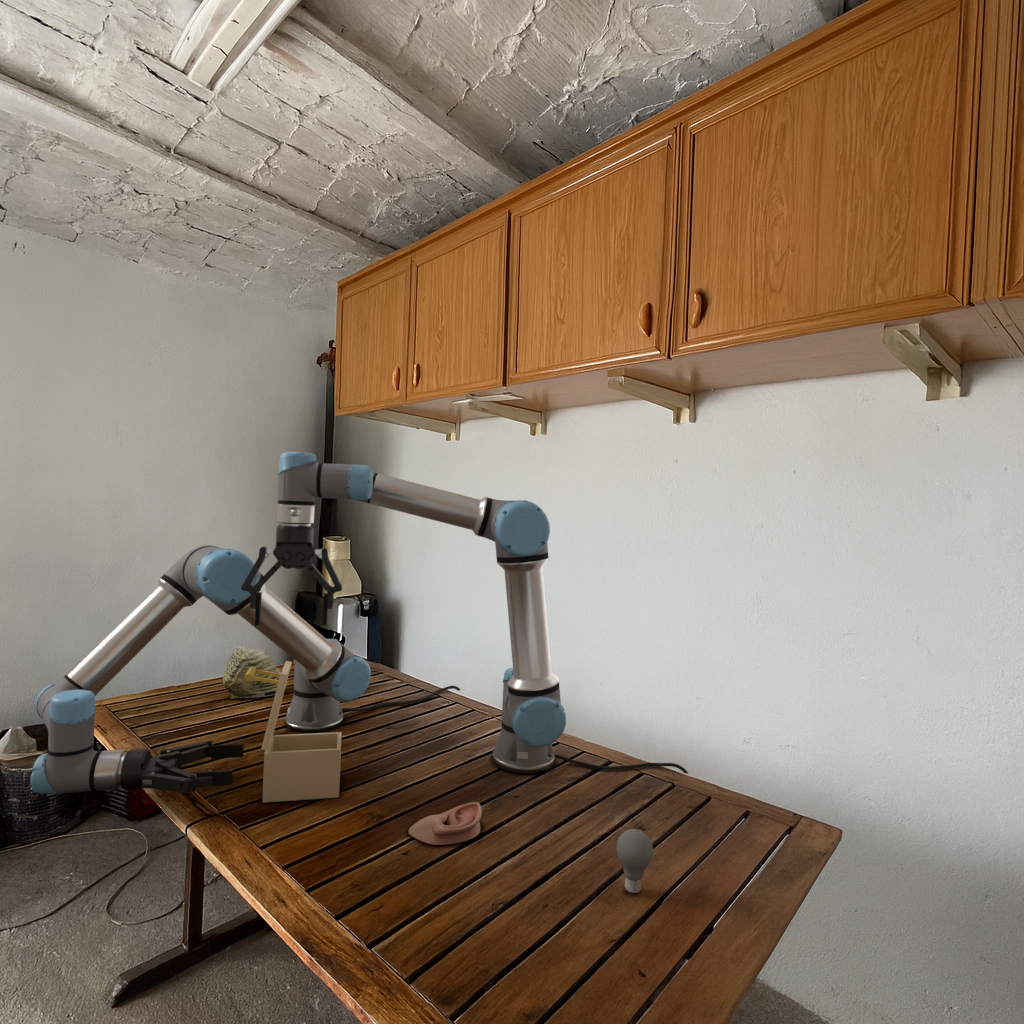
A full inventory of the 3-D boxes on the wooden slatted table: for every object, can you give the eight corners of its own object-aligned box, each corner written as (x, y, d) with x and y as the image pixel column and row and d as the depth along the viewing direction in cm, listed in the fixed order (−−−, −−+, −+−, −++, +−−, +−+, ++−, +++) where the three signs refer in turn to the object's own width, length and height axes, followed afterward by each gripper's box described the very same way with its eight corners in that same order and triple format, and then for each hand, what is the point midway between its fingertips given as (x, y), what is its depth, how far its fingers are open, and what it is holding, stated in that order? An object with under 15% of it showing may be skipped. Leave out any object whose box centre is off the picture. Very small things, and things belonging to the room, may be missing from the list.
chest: (339, 776, 144) (341, 731, 143) (338, 797, 134) (340, 749, 134) (269, 781, 140) (270, 735, 140) (262, 802, 130) (264, 753, 130)
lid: (292, 661, 140) (253, 654, 138) (287, 674, 131) (245, 667, 129) (273, 732, 140) (234, 726, 138) (267, 750, 130) (225, 744, 128)
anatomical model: (402, 819, 118) (423, 791, 129) (402, 840, 118) (422, 811, 129) (471, 829, 115) (486, 801, 126) (470, 851, 115) (486, 820, 126)
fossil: (218, 695, 195) (220, 647, 195) (278, 685, 208) (279, 640, 207) (228, 703, 189) (230, 653, 188) (289, 692, 201) (290, 645, 201)
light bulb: (610, 879, 108) (613, 822, 108) (644, 879, 109) (647, 822, 109) (619, 902, 102) (622, 840, 102) (655, 901, 103) (658, 840, 103)
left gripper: (143, 762, 140) (246, 756, 145) (101, 818, 116) (226, 809, 121) (145, 728, 140) (248, 724, 145) (102, 777, 116) (227, 770, 121)
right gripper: (228, 523, 128) (225, 627, 129) (355, 527, 134) (351, 627, 135) (235, 522, 136) (232, 620, 136) (355, 525, 142) (351, 620, 142)
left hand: (238, 763), depth 133 cm, fingers open, 13 cm apart
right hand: (291, 624), depth 135 cm, fingers open, 13 cm apart
